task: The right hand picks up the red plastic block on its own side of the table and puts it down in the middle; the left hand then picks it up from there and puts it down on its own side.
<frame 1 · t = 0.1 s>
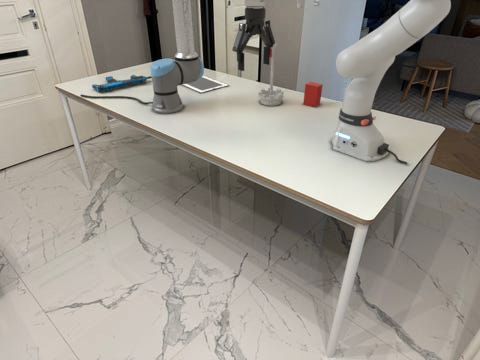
left hand: (254, 67, 134), 28 cm above the table, tool pointing down, fingers open, 13 cm apart
right hand: (308, 6, 134), 48 cm above the table, tool pointing down, fingers open, 8 cm apart
tablet: (199, 83, 208), on the table
block: (311, 104, 177), on the table
flag stand: (270, 102, 180), on the table
submachine gun: (121, 83, 207), on the table
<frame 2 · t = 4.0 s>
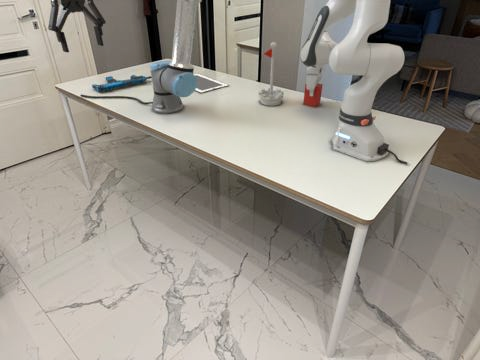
left hand: (84, 48, 124), 36 cm above the table, tool pointing down, fingers open, 13 cm apart
right hand: (312, 93, 174), 6 cm above the table, tool pointing down, fingers closed on block, 6 cm apart
block: (311, 104, 177), on the table, touching right hand
everything else where it was.
when the right hand's fingers open (7 cm above the table, at t = 16.7 s): block drops 1 cm, on the table.
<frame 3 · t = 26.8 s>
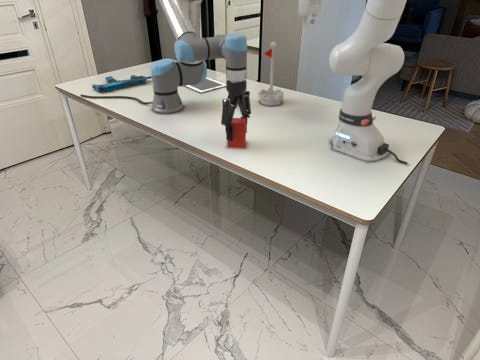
left hand: (236, 136, 137), 4 cm above the table, tool pointing down, fingers closed on block, 8 cm apart
right hand: (308, 25, 151), 39 cm above the table, tool pointing down, fingers open, 8 cm apart
block: (236, 144, 139), on the table, touching left hand
everything else where it was.
when the left hand's fingers open (5 cm above the table, at t = 33.1 s): block drops 1 cm, on the table.
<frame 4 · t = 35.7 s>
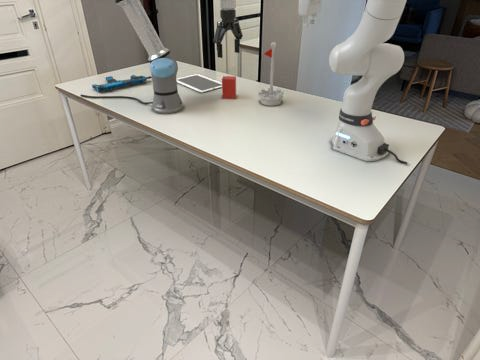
left hand: (228, 55, 175), 22 cm above the table, tool pointing down, fingers open, 13 cm apart
right hand: (308, 25, 151), 39 cm above the table, tool pointing down, fingers open, 8 cm apart
block: (229, 97, 187), on the table
everything else where it was.
at the end: block inside the target area (0.1 cm from its centre), on the table; block tilted 0°; the two hands never held the block at the same time; the left hand is holding nothing; the right hand is holding nothing; block at rest at the end (0.0 cm/s) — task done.
